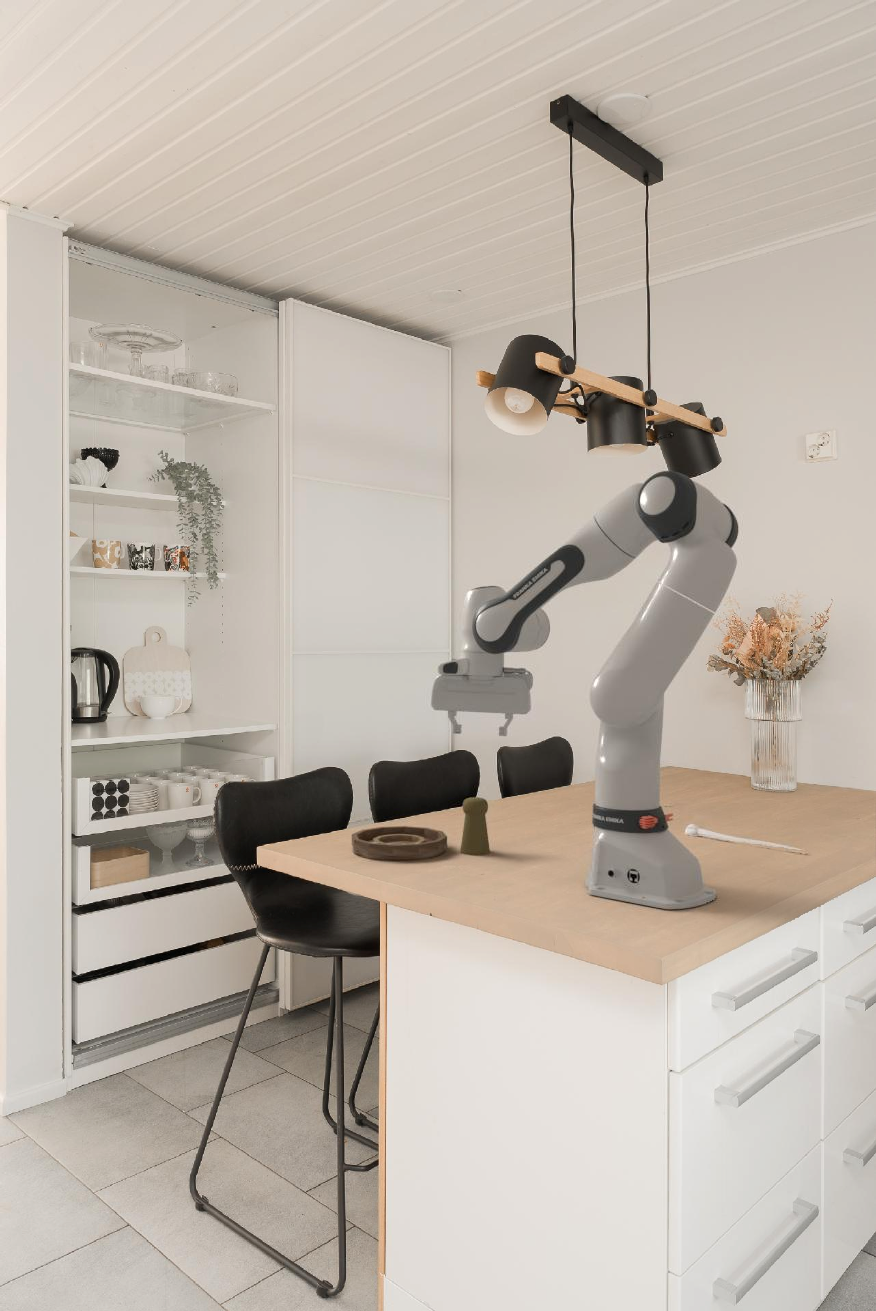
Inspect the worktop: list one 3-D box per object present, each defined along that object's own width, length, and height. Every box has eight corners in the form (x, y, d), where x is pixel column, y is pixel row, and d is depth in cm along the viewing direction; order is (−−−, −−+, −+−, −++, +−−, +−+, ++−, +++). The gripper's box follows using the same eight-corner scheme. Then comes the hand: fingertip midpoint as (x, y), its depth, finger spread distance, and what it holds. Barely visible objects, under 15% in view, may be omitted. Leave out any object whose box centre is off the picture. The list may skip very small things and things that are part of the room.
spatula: (813, 854, 191) (813, 840, 191) (804, 857, 188) (804, 843, 188) (691, 834, 211) (691, 821, 211) (681, 836, 209) (681, 824, 209)
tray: (464, 851, 191) (464, 836, 191) (390, 865, 179) (390, 849, 179) (406, 836, 205) (406, 823, 205) (334, 848, 193) (334, 834, 193)
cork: (487, 855, 187) (487, 800, 187) (457, 854, 188) (458, 799, 188) (492, 849, 193) (492, 796, 193) (463, 848, 194) (463, 795, 194)
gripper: (534, 668, 191) (532, 735, 191) (436, 664, 195) (434, 730, 196) (531, 668, 185) (529, 738, 185) (430, 665, 189) (428, 733, 189)
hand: (479, 734), depth 190 cm, fingers open, 8 cm apart
